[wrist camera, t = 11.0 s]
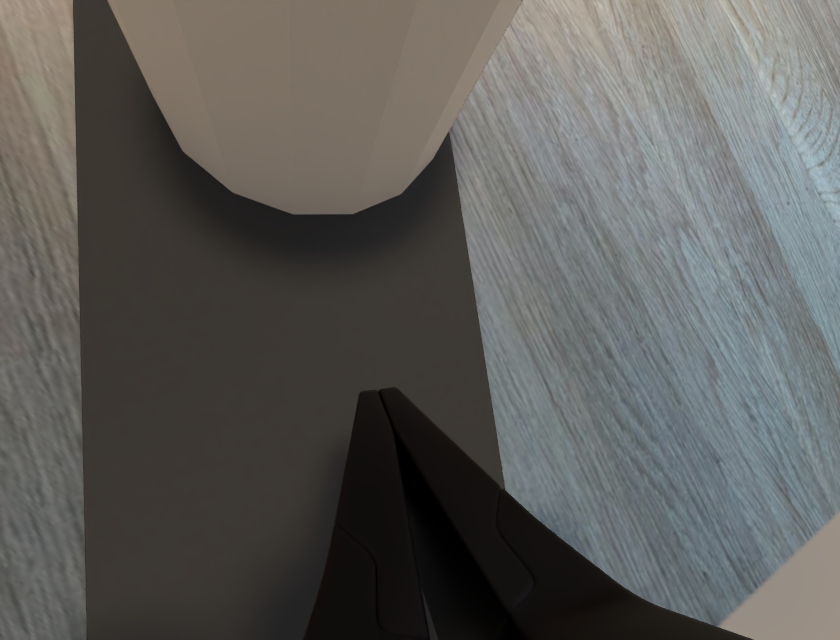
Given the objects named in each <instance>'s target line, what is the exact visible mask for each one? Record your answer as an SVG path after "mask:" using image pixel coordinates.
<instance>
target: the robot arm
mask: <svg viewBox="0 0 840 640" xmlns="http://www.w3.org/2000/svg"><path fill="white" fill-rule="evenodd" d="M500 488H501V487H500V485H499V484H498V483H497V482H496V481H495V480H494V479H493V478H492V477H491V476H490V475H489V474H487V473H486V472H485V471H484V470H483V469H482V468H481V467H480V466H479V465H478V464H477V463H476V462H475V461H474V460H473V459H472V458H471V457H470V456H469V455H467V454H466V453H465V452H464V451H463V450H462V449H461V448H460V447H459V446H458V445H457V444H456V443H455V442H454V441H453V440H452V439H451V438H450V437H448V436H447V435H446V434H445V433H444V432H443V431H442V430H441V429H440V428H439V427H438V426H437V425H436V424H435V423H434V422H433V421H432V420H431V419H429V418H428V417H427V416H426V415H425V414H424V413H423V412H422V411H421V410H420V409H419V408H418V407H417V406H416V405H415V404H414V403H413V402H412V401H410V400H409V399H408V398H407V397H406V396H405V395H404V394H403V393H402V392H401V391H400V390H399V389H398V388H396V387H390V388H383V389H380V390H378V391H377V390H368V391H361V392H360V393H359V397H358V402H357V407H356V412H355V418H354V423H353V428H352V433H351V438H350V444H349V449H348V454H347V459H346V464H345V470H344V475H343V480H342V485H341V490H340V496H339V501H338V506H337V511H336V516H335V522H334V527H333V531H332V536H331V541H330V547H329V551H328V555H327V560H326V564H325V568H324V573H323V576H322V580H321V583H320V586H319V590H318V593H317V597H316V600H315V603H314V607H313V610H312V613H311V616H310V619H309V622H308V625H307V628H306V631H305V634H304V637H303V640H430V635H429V629H428V623H427V618H426V612H425V606H424V601H423V595H422V590H423V593H424V597H425V600H426V603H427V606H428V609H429V612H430V615H431V618H432V621H433V624H434V628H435V631H436V634H437V637H438V640H753V639H750V638H747V637H744V636H742V635H738V634H736V633H733V632H730V631H727V630H724V629H722V628H719V627H716V626H713V625H710V624H707V623H705V622H702V621H699V620H696V619H693V618H690V617H688V616H685V615H682V614H679V613H676V612H673V611H671V610H668V609H665V608H662V607H659V606H657V605H655V604H652V603H650V602H648V601H646V600H644V599H642V598H641V597H639V596H637V595H635V594H634V593H632V592H630V591H629V590H627V589H626V588H624V587H623V586H621V585H620V584H619V583H617V582H616V581H615V580H613V579H612V578H611V577H609V576H608V575H607V574H606V573H604V572H603V571H602V570H600V569H599V568H598V567H597V566H595V565H594V564H593V563H591V562H590V561H589V560H588V559H586V558H585V557H584V556H583V555H581V554H580V553H579V552H577V551H576V550H575V549H574V548H572V547H571V546H570V545H568V544H567V543H566V542H565V541H563V540H562V539H561V538H559V537H558V536H557V535H556V534H555V533H553V532H552V531H551V530H550V529H548V528H547V527H546V526H545V525H543V524H542V523H541V522H540V521H539V520H537V519H536V518H535V517H534V516H533V515H532V514H531V513H529V512H528V511H527V510H526V509H525V508H524V507H523V506H522V505H521V504H519V503H518V502H517V501H516V500H515V499H514V498H513V497H512V496H511V495H510V494H509V493H508V492H507V491H506V490H505V489H503V488H501V489H500ZM421 587H422V589H421Z"/></svg>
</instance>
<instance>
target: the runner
mask: <svg viewBox="0 0 840 640" xmlns="http://www.w3.org/2000/svg"><path fill="white" fill-rule="evenodd" d="M73 20H74V66H75V111H76V156H77V202H78V247H79V293H80V338H81V384H82V429H83V474H84V520H85V565H86V611H87V640H303V637H304V634H305V631H306V628H307V625H308V622H309V619H310V616H311V613H312V610H313V607H314V603H315V600H316V597H317V593H318V590H319V586H320V583H321V580H322V576H323V573H324V568H325V564H326V560H327V555H328V551H329V547H330V541H331V536H332V531H333V527H334V522H335V516H336V511H337V506H338V501H339V496H340V490H341V485H342V480H343V475H344V470H345V464H346V459H347V454H348V449H349V444H350V438H351V433H352V428H353V423H354V418H355V412H356V407H357V402H358V397H359V393H360V392H361V391H368V390H377V391H378V390H380V389H383V388H390V387H396V388H398V389H399V390H400V391H401V392H402V393H403V394H404V395H405V396H406V397H407V398H408V399H409V400H410V401H412V402H413V403H414V404H415V405H416V406H417V407H418V408H419V409H420V410H421V411H422V412H423V413H424V414H425V415H426V416H427V417H428V418H429V419H431V420H432V421H433V422H434V423H435V424H436V425H437V426H438V427H439V428H440V429H441V430H442V431H443V432H444V433H445V434H446V435H447V436H448V437H450V438H451V439H452V440H453V441H454V442H455V443H456V444H457V445H458V446H459V447H460V448H461V449H462V450H463V451H464V452H465V453H466V454H467V455H469V456H470V457H471V458H472V459H473V460H474V461H475V462H476V463H477V464H478V465H479V466H480V467H481V468H482V469H483V470H484V471H485V472H486V473H487V474H489V475H490V476H491V477H492V478H493V479H494V480H495V481H496V482H497V483H498V484H499V485H500V487H501V488H503V489H505V485H504V479H503V472H502V466H501V460H500V453H499V447H498V440H497V434H496V428H495V421H494V415H493V409H492V402H491V396H490V389H489V383H488V377H487V370H486V364H485V357H484V351H483V345H482V338H481V332H480V326H479V319H478V313H477V306H476V300H475V294H474V287H473V281H472V274H471V268H470V262H469V255H468V249H467V243H466V236H465V230H464V223H463V217H462V211H461V204H460V198H459V192H458V185H457V179H456V172H455V166H454V160H453V153H452V147H451V140H450V134H449V131H448V133H447V135H446V137H445V138H444V140H443V142H442V144H441V145H440V147H439V149H438V151H437V153H436V154H435V156H434V158H433V160H432V161H431V162H430V163H429V164H428V165H427V166H426V167H425V168H424V169H423V171H422V172H421V173H420V174H419V175H418V176H417V177H416V178H415V179H414V180H413V182H412V183H411V184H410V185H409V186H408V187H407V188H406V189H405V190H404V191H403V192H402V194H400V195H398V196H395V197H393V198H390V199H388V200H386V201H383V202H381V203H378V204H376V205H374V206H371V207H369V208H366V209H364V210H362V211H359V212H357V213H354V214H294V215H293V214H291V213H288V212H285V211H282V210H280V209H277V208H274V207H271V206H268V205H266V204H263V203H260V202H257V201H254V200H252V199H249V198H246V197H243V196H241V195H238V194H235V193H233V192H231V191H230V190H229V189H228V188H227V187H225V186H224V185H223V184H222V183H220V182H219V181H218V180H217V179H216V178H214V177H213V176H212V175H211V174H210V173H208V172H207V171H206V170H205V169H204V168H202V167H201V166H200V165H199V164H198V163H196V162H195V161H194V160H193V159H192V158H190V157H189V156H188V155H187V154H185V153H184V152H183V151H182V149H181V147H180V145H179V143H178V142H177V140H176V138H175V136H174V134H173V132H172V130H171V129H170V127H169V125H168V123H167V121H166V119H165V117H164V116H163V114H162V112H161V110H160V108H159V106H158V104H157V103H156V101H155V99H154V97H153V95H152V93H151V91H150V89H149V86H148V84H147V82H146V80H145V78H144V76H143V74H142V72H141V70H140V68H139V65H138V63H137V61H136V59H135V57H134V55H133V53H132V51H131V49H130V47H129V45H128V42H127V40H126V38H125V36H124V34H123V32H122V30H121V28H120V26H119V24H118V21H117V19H116V17H115V15H114V13H113V11H112V9H111V7H110V5H109V3H108V0H73ZM501 488H500V489H501ZM421 589H422V587H421ZM422 595H423V601H424V606H425V612H426V618H427V623H428V629H429V635H430V640H438V637H437V634H436V631H435V628H434V624H433V621H432V618H431V615H430V612H429V609H428V606H427V603H426V600H425V597H424V593H423V590H422Z"/></svg>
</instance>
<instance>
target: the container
mask: <svg viewBox="0 0 840 640" xmlns="http://www.w3.org/2000/svg"><path fill="white" fill-rule="evenodd" d="M522 1H523V0H108V3H109V5H110V7H111V9H112V11H113V13H114V15H115V17H116V19H117V21H118V24H119V26H120V28H121V30H122V32H123V34H124V36H125V38H126V40H127V42H128V45H129V47H130V49H131V51H132V53H133V55H134V57H135V59H136V61H137V63H138V65H139V68H140V70H141V72H142V74H143V76H144V78H145V80H146V82H147V84H148V86H149V89H150V91H151V93H152V95H153V97H154V99H155V101H156V103H157V104H158V106H159V108H160V110H161V112H162V114H163V116H164V117H165V119H166V121H167V123H168V125H169V127H170V129H171V130H172V132H173V134H174V136H175V138H176V140H177V142H178V143H179V145H180V147H181V149H182V151H183V152H184V153H185V154H187V155H188V156H189V157H190V158H192V159H193V160H194V161H195V162H196V163H198V164H199V165H200V166H201V167H202V168H204V169H205V170H206V171H207V172H208V173H210V174H211V175H212V176H213V177H214V178H216V179H217V180H218V181H219V182H220V183H222V184H223V185H224V186H225V187H227V188H228V189H229V190H230V191H231V192H233V193H235V194H238V195H241V196H243V197H246V198H249V199H252V200H254V201H257V202H260V203H263V204H266V205H268V206H271V207H274V208H277V209H280V210H282V211H285V212H288V213H291V214H293V215H294V214H354V213H357V212H359V211H362V210H364V209H366V208H369V207H371V206H374V205H376V204H378V203H381V202H383V201H386V200H388V199H390V198H393V197H395V196H398V195H400V194H402V192H403V191H404V190H405V189H406V188H407V187H408V186H409V185H410V184H411V183H412V182H413V180H414V179H415V178H416V177H417V176H418V175H419V174H420V173H421V172H422V171H423V169H424V168H425V167H426V166H427V165H428V164H429V163H430V162H431V161H432V160H433V158H434V156H435V154H436V153H437V151H438V149H439V147H440V145H441V144H442V142H443V140H444V138H445V137H446V135H447V133H448V131H449V130H450V128H451V126H452V124H453V123H454V121H455V119H456V117H457V116H458V114H459V112H460V110H461V109H462V107H463V105H464V103H465V101H466V100H467V98H468V96H469V94H470V93H471V91H472V89H473V87H474V86H475V84H476V82H477V80H478V79H479V77H480V75H481V73H482V72H483V70H484V68H485V66H486V65H487V63H488V61H489V59H490V57H491V56H492V54H493V52H494V50H495V49H496V47H497V45H498V43H499V42H500V40H501V38H502V36H503V35H504V33H505V31H506V29H507V28H508V26H509V24H510V22H511V20H512V19H513V17H514V15H515V13H516V12H517V10H518V8H519V6H520V5H521V3H522Z"/></svg>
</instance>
